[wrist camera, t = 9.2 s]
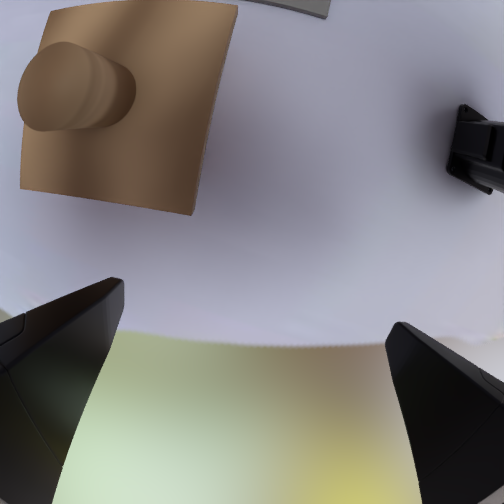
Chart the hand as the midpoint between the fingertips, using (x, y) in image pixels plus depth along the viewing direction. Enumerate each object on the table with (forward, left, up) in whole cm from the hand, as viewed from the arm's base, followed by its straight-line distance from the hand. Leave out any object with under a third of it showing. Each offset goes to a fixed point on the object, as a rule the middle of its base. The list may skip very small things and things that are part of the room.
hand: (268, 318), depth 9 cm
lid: (+9, -6, -8) cm, 13 cm away
